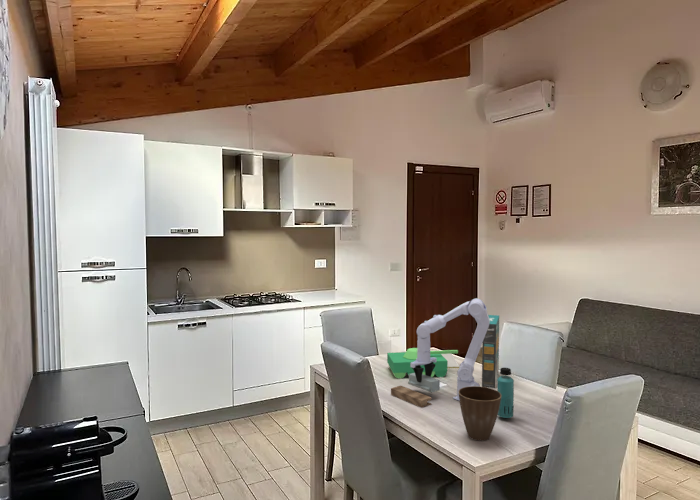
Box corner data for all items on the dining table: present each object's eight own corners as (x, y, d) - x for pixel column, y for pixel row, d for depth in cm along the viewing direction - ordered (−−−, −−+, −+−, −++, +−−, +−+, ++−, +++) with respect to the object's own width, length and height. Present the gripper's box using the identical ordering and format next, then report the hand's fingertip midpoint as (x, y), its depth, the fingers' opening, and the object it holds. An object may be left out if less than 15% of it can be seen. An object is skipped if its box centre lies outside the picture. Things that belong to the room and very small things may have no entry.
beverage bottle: (502, 422, 190) (503, 371, 189) (493, 416, 197) (493, 366, 195) (517, 420, 192) (518, 370, 191) (507, 414, 198) (508, 365, 197)
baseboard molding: (437, 369, 260) (460, 369, 260) (437, 364, 260) (460, 364, 259) (429, 353, 291) (449, 353, 291) (429, 348, 291) (449, 348, 290)
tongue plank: (439, 390, 216) (439, 379, 216) (429, 393, 212) (429, 383, 212) (416, 381, 227) (416, 372, 227) (406, 384, 223) (406, 374, 223)
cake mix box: (486, 373, 251) (486, 314, 250) (498, 374, 249) (499, 315, 247) (481, 386, 231) (482, 323, 229) (495, 388, 229) (496, 324, 227)
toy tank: (462, 353, 245) (393, 355, 242) (462, 377, 246) (393, 379, 243) (452, 343, 263) (387, 345, 259) (451, 366, 264) (387, 368, 260)
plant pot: (480, 424, 189) (480, 383, 188) (509, 439, 176) (510, 395, 174) (449, 432, 182) (449, 390, 181) (478, 449, 168) (478, 403, 167)
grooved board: (431, 404, 209) (431, 397, 209) (421, 407, 206) (421, 400, 206) (400, 391, 224) (400, 385, 224) (390, 394, 221) (390, 388, 221)
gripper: (428, 346, 227) (428, 375, 228) (405, 351, 218) (405, 381, 219) (440, 349, 221) (439, 379, 222) (417, 354, 213) (416, 385, 213)
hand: (423, 380), depth 220 cm, fingers closed on tongue plank, 5 cm apart
